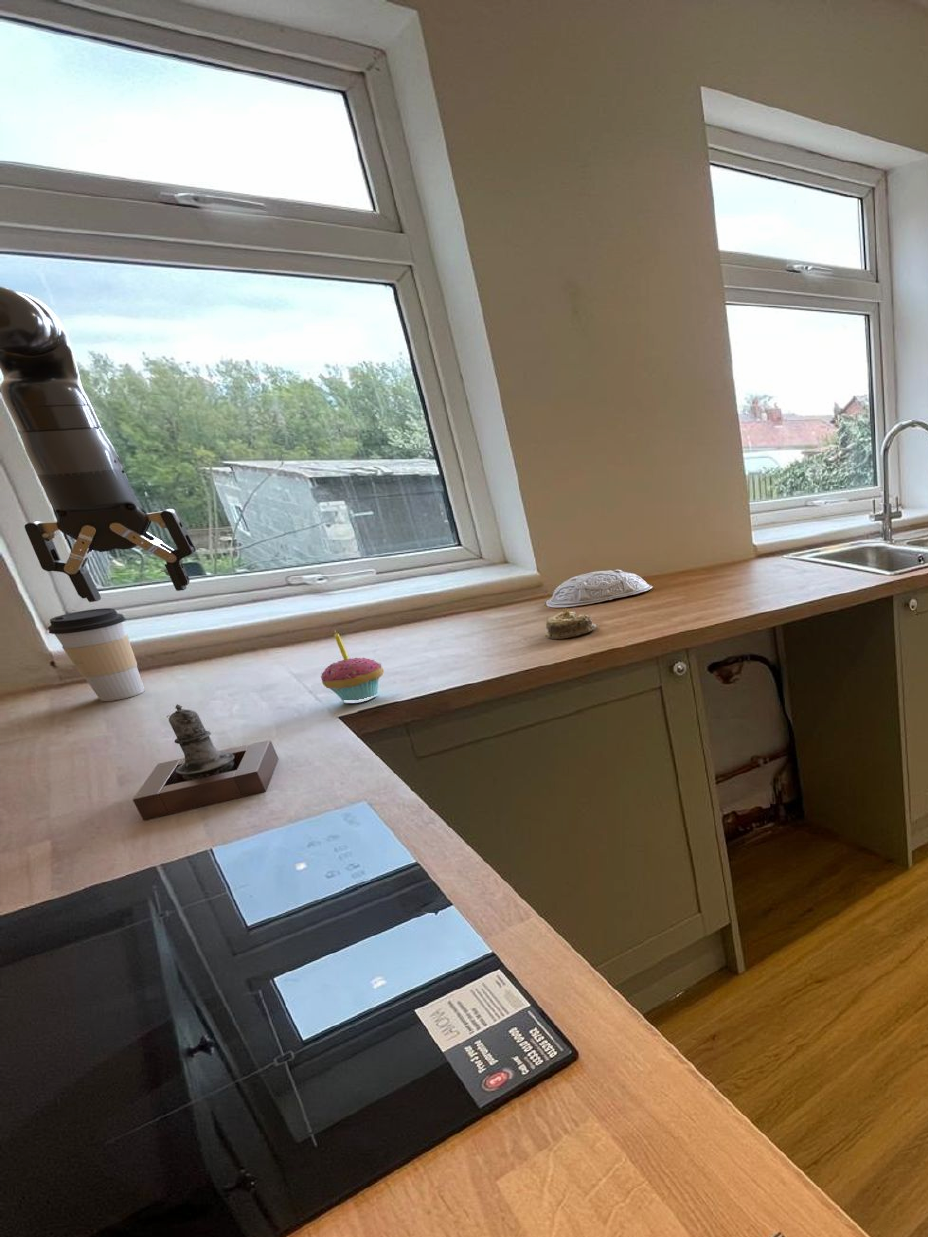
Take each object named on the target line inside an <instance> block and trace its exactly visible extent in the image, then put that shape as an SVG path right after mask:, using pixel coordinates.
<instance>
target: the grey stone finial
mask: <svg viewBox="0 0 928 1237" xmlns="http://www.w3.org/2000/svg"><path fill="white" fill-rule="evenodd" d="M168 722H169V724H170V726H171V728H172V730H173V733H174V735H175V736H176V738H175V739H174V743H175V744H178V745H179V747H180V748H181V751H182V752H183V755H184V758H185V763H184V764H182V765H180V766H179V767H178V768H177V769H176V773H177V774H181V776H182V777H183V778H184V779H185V780H186V781H189V780H194V779H198V778H203V777H207V776H212V775H216V774H221V773H225V772H230V771H233V769H234V761H233V759H234V757H235V756H234V755H233V754H231V753H220V752H219V751H220V750H218V749H217V748H216V747H215V745H214V744H213V741H212V739H211V737H210V736H211V734H212V732H211V731H210V730H206V728H205V726H204V724H203V722H202V720H201V718H200V715H199V713H198V712H196V711H195V710H192V709H185V708H183V705H180V704H176V705H175V712H173V713H171V714H170V715H169V717H168Z"/></svg>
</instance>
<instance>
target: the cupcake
mask: <svg viewBox="0 0 928 1237" xmlns="http://www.w3.org/2000/svg"><path fill="white" fill-rule="evenodd" d="M333 632H334V639H335V642H336V644H337V646H338V648H339V652H340V654H341V656H342V658H343V659H342V660H338V661H337V662H332V663H331V664H329V665H328V666H327V667H325V669H324V670H323V672H322V673H321V676H320V678H321V683H322V685H323V686H324V687H325V688H327V689H329V690H331V691H332V692H334V693H335V694H336V695H337V696H338V697H339V698H340V700H341V701H342V700H359V699H364V698H367V697H371V696H374V695H376V694H377V693H378V692H379V679H380V678H381V677H382V676H383V674H384V672H385V671H384V668H383V666H382V663H381V662H377V661H376V660H374V659H370V658H366V657H362V658H361V657H355V658H353V657H352V658H349V656H348V654H347V651H346V649H345V646H344V643H343V641H342V639H341V638H342V637H341V636H340V634H339V633H337V631H336V629H333ZM378 694H379V693H378Z"/></svg>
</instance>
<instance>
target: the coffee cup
mask: <svg viewBox="0 0 928 1237" xmlns="http://www.w3.org/2000/svg"><path fill="white" fill-rule="evenodd" d="M125 621H127V618H126V617H125V616H124V615H123V613H118V612H117V611H116V609H115V608H113V607H112V608H109V607H106V608H94V609H87V610H80V611H74V612H69V613H65V614H61V615H57V616H54V617H52V618H50V619H49V623H50V625H49V626H48V627H47V630H48V633H49V634H51V635H54V636H55V637H56V639H57V640H58V641H59V643H60V644H61V648H62V649H63V651H64V652H65V653H66V655H67V657H68V658H69V660H70V661H71V663H72V664H73V665H74V667H75V668H76V670H77V671H78V673H79V674H80V675H81V677H83V678H84V679H85V681H86V682H87V684H88V685H89V686H90V688H91V689H92V691H93V692H94V693H95V695H96V696H97V698H98V699H99V701H101V702H115V701H119V700H124V699H128V698H132V697H135V696H138V695H141V694H142V693H144V692H145V686H144V685H143V681H142V678H141V675H140V672H139V669H138V662H137V659H136V656H135V654H134V650H133V647H132V645H131V642H130V638H129V636H128V634H126V631H125V628H124V625H123V623H124V622H125Z"/></svg>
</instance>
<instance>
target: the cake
mask: <svg viewBox="0 0 928 1237" xmlns="http://www.w3.org/2000/svg"><path fill="white" fill-rule="evenodd" d="M596 628H597V624H596V623H593V620H592V619H591V616H589V615H587V614H582V613H581V614H579V615H578V614H577V613H576V611H570V610H568V608H567V607H564V610H563V612H559V613H556V614H554V615H553V616H550V617H548V619H547V620H546V623H545V629H546V630H547V633H546V638H547V639H550V640H553V639H554V640H562V639H568V638H574V637H577V636H580V635H585V634H587V633H590V632H593V631H594V630H595V629H596Z"/></svg>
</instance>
